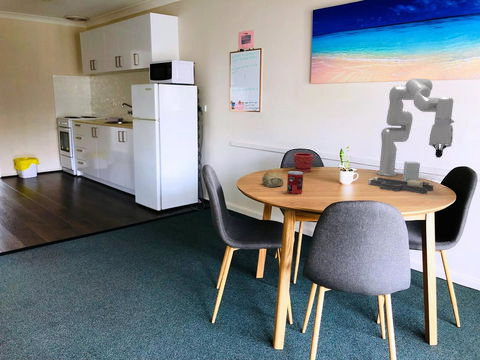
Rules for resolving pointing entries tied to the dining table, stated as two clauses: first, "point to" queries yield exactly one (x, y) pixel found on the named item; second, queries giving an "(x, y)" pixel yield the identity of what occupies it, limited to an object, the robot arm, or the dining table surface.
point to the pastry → (272, 179)
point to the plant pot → (303, 161)
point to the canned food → (295, 182)
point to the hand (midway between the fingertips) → (438, 157)
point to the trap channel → (399, 185)
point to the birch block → (415, 183)
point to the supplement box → (411, 171)
